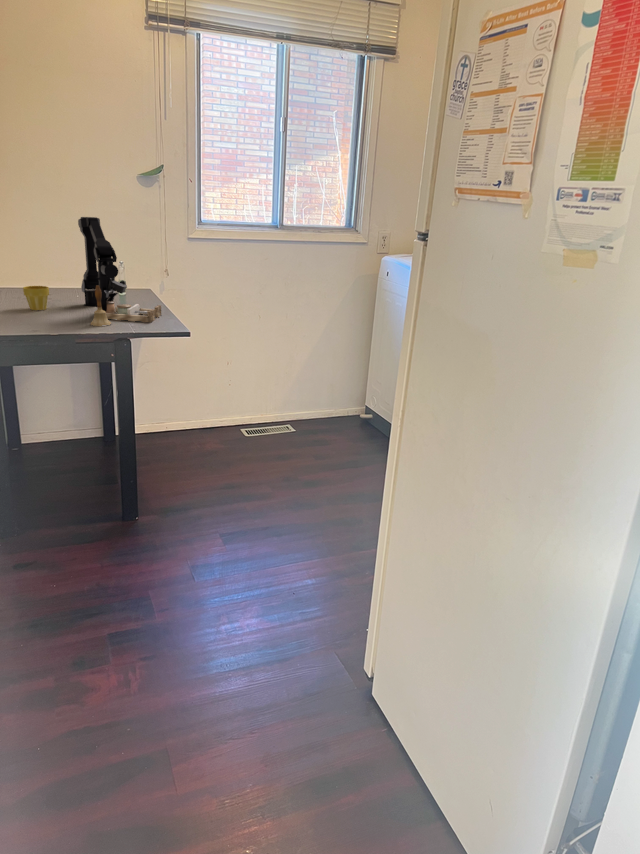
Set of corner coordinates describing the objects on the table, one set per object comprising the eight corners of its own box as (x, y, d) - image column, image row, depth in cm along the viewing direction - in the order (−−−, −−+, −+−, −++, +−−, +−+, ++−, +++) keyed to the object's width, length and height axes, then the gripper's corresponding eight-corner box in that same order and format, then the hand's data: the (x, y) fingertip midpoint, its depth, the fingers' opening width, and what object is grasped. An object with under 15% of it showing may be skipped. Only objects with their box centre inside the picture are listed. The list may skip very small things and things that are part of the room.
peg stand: (127, 319, 267) (127, 309, 265) (137, 313, 279) (136, 304, 277) (144, 320, 266) (143, 310, 265) (152, 314, 279) (152, 305, 277)
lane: (103, 319, 265) (102, 308, 264) (116, 312, 280) (115, 302, 279) (151, 322, 265) (150, 311, 263) (161, 315, 280) (161, 305, 279)
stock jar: (115, 317, 270) (114, 306, 268) (120, 315, 276) (119, 303, 274) (129, 318, 270) (128, 307, 268) (133, 316, 276) (133, 304, 274)
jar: (98, 313, 270) (97, 302, 268) (103, 311, 275) (102, 300, 274) (112, 314, 270) (111, 303, 268) (117, 312, 275) (116, 301, 274)
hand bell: (91, 326, 251) (88, 287, 245) (89, 322, 258) (86, 283, 252) (112, 326, 254) (110, 287, 248) (110, 322, 261) (107, 283, 255)
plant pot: (25, 307, 278) (23, 285, 275) (50, 306, 282) (48, 285, 279) (25, 311, 270) (22, 289, 266) (50, 311, 274) (48, 289, 270)
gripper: (116, 278, 258) (118, 316, 263) (130, 273, 275) (132, 308, 281) (90, 277, 258) (92, 314, 263) (106, 271, 275) (108, 306, 281)
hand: (107, 310), depth 272 cm, fingers closed on jar, 6 cm apart
